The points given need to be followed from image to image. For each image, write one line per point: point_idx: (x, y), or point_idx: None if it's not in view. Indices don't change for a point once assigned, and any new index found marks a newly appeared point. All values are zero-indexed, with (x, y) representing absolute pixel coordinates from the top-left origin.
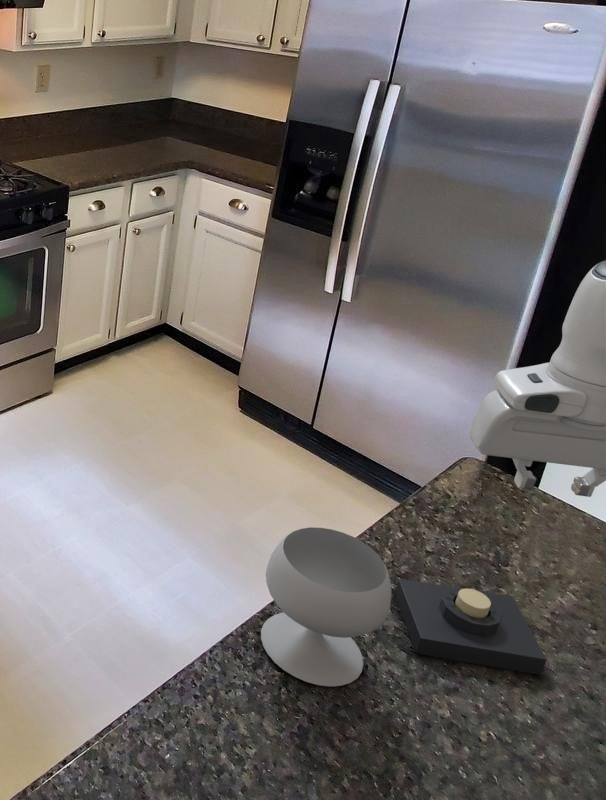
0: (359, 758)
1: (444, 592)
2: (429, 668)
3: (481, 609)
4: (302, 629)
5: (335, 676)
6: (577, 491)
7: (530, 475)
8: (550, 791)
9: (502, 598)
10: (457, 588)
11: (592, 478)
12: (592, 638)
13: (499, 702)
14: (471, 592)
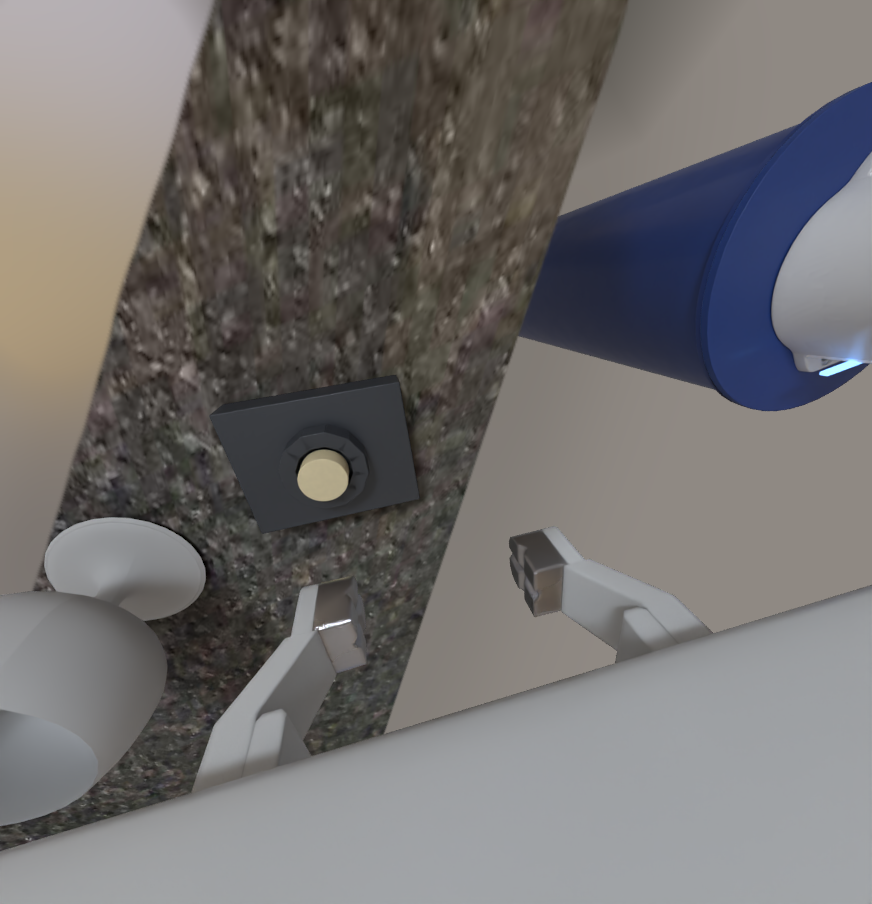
0: (229, 661)
1: (290, 420)
2: (287, 530)
3: (332, 499)
4: (98, 575)
5: (174, 607)
6: (517, 581)
7: (345, 652)
8: (394, 613)
9: (382, 395)
10: (302, 439)
11: (589, 612)
12: (499, 385)
13: (364, 542)
14: (318, 469)
